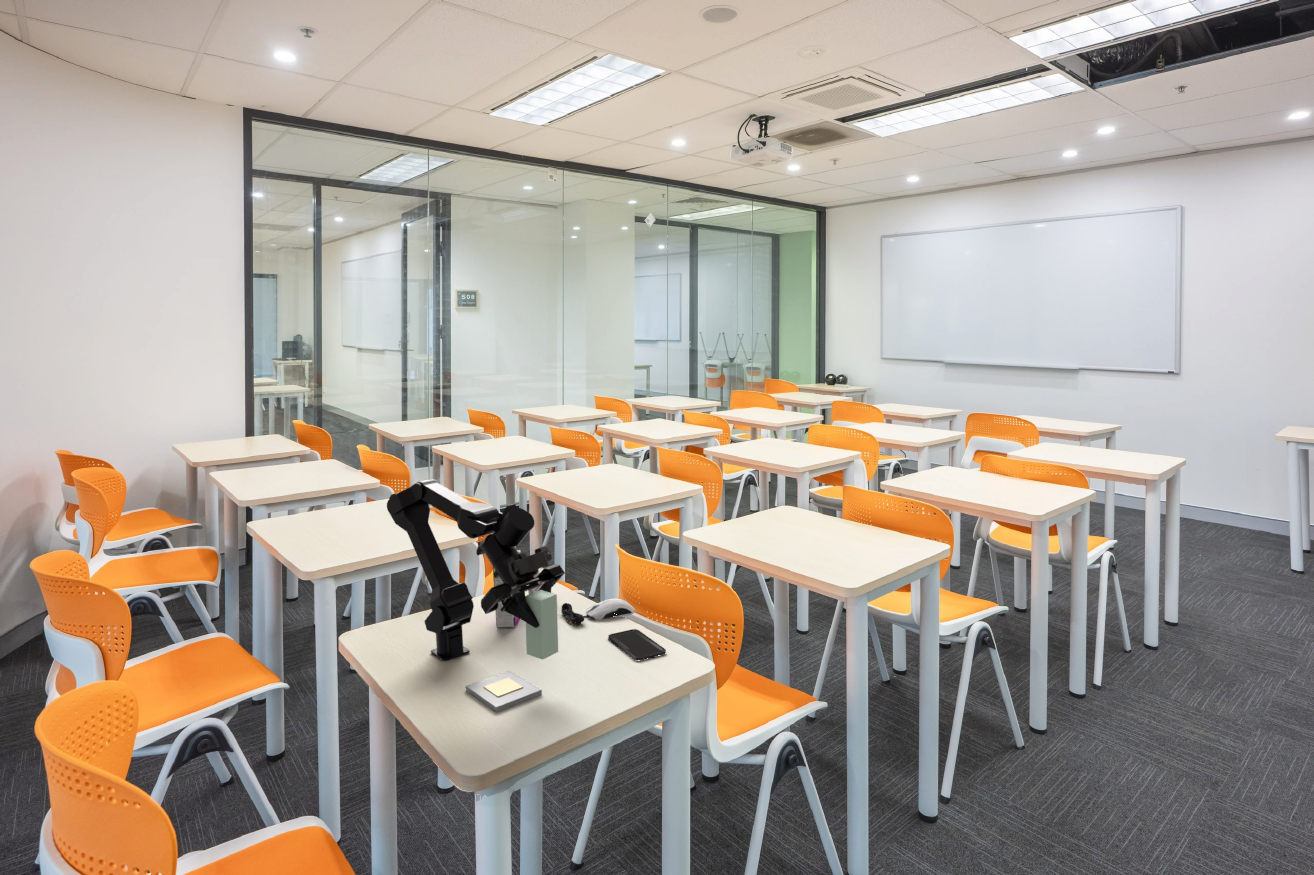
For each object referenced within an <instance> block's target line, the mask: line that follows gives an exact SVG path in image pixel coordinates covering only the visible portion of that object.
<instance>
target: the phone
mask: <svg viewBox="0 0 1314 875" xmlns="http://www.w3.org/2000/svg"><path fill="white" fill-rule="evenodd" d="M607 638H608V639H607V640H608V641H610V643H612V644H613V645H614V644H615V646H616V647H617V648H618V647H619V648H620V649H619V648H618V649H619V650H621V652H623V651H624V652H625V653H624V652H623V653H624V654H626V655H627V654H628V655H629V656H628V655H627V656H628V657H629V658H631V657H632V658H631V659H632V660H633V659H634V660H633V661H635V660H643V661H645V660H644V659H647V658H651V657H654V656H658V655H662V656H664V655H663V654H665V653H666V654H667V650H666V648H664V647H663V646H662V645H661V644H659V643H658V642H656V641H655V640H653V639H652V638H650V637H649V636H647V635H646V634H645V633H644V632H642V631H641V630H639V629H638V628H637V629H636V628H633V629H632V628H631V629H628V630H623V631H619V632H615V633H610V634H608V636H607ZM666 654H665V655H666ZM658 657H659V656H658ZM647 660H648V659H647Z"/></svg>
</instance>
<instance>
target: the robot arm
mask: <svg viewBox="0 0 1314 875" xmlns="http://www.w3.org/2000/svg"><path fill="white" fill-rule="evenodd" d="M430 506H431V507H434V508H435V509H436V510H438V511H440V512H441V513H444V515H446V516H448V517H450V518H451V519H452V520H454V521H455V522H456V523H457V528H458V530H460V531H461V532H462V533H463V534H465V535H466V537H468V538H469V539H476V538H480V537H484V536H486V537H485V538H484V539H483V540H480V541H478V542H477V547H476V553H475V554H476V555H477V556H480V555H485V556H486V558H487V559H488V561H489V563H490V564H491V565H492V568H493V567H494V569H495V572H494V573H493V572H492V575H494V577H495V578H497V577H500V578H501V580H502V582H503V584H500V585H497V586H495V587H494V586H492V587H491V588H489V590H488V591H487V592H486V594H485V595H484V596H483V597H482V598H481V599H480V607H481V609H482V610H483V612H484V614H485V615H487V614H488V615H489V614H490V613H492V612H494V611H495V612H496V610H497V609H498V602H500V601H501V602H502V605H503V607H502V608H501V609H500V610H501V612H503V611H505V612H507V613H510V614H512V615H514V616H516V617H518V618H519V620H521V621H522V622H524V623H525V624H526V623H528V624H529V625H531V626H533V627H534V628H537V627H538V626H539V623H538V620H537V618H536V617H535V615H534V613H533V612H532V610H531V608H530V607H529V605H528V603H527V602H526V598H525V596H526V592H528V590H531V589H532V591H533V593H534V592H537V591H539V590H543V591H547V592H550V593H552V588H553V587H554V586H555V585H556V584H557V583H558V581H559V580H560V579H561V578H562V577H563V576H564V575H565V571H564V569H563V568H562V566H561V565H560V564H553V565H552V564H551V565H550V564H549V562H550V561H552V559H553V557H552V553H551V551H550V550H549V548H548V547H547V546H546V545H543V546H541V547H540V546H539V547H538V548H536V549H534V553H533V554H530V555H527V554H526V553H525V552H521V553H520V554H519V553H518V551H517V550H518V549H516V547H517V546H519V545H520V544H521V543H522V542H523V540H524V539H525V538H526V537H527V535H528V534H529V533H530V532H531V531H532V529H533V528H534V527H535V519H534V516H533V515H532V514H531V513H529V512H528V511H526V510H525V509H523V508H522V507H521V508H520V507H518V506H517V505H516V504H515V503H512V504H508V505H506V506H505V508H504V509H503V511H502V512H501V511H499V510H498V509H497V508H496V507H495V506H494V505H490V504H487V503H483V502H475V501H474V502H473V501H471V500H467V499H466V498H465V497H463V496H461V495H459V493H458V494H457V493H456V492H454V491H453V490H451V489H449V488H447V487H446V486H444V485H442V484H440V482H439V481H438V480H437V479H433V478H430V479H426V480H420V481H417V482H416V483H414V484H413V485H411V486H409V487H408V488H405V489H403V490H402V491H399V492H395V493H392V494H391V495H390V496H389V498H388V501H387V503H386V508H387V511H388V514H389V515H390V517H391V518H392V520H393V523H395V525H396V526H398V527H399V528H401V529H402V530H403V531H404V532H406V533H407V535H408V537H409V540H410V543H411V545H412V547H413V549H414V552H415V554H416V556H417V558H418V561H419V562H420V565H421V567H422V570H423V571H424V575H425V577H426V579H427V582H428V583H429V586H430V588H431V595H430V601H429V604H430V605H429V606H430V609H431V612H430V613H429V615H428V616H427V617H426V619H425V620H424V624H425V628H426V631H429V632H431V633H434V634H435V642H436V648H433V649H431V650H430V653H431V654H432V653H433V655H434V656H435V657H437V658H438V659H440V660H441V661H448V660H451V659H453V658H457V657H460V656H463V655H466V654H469V653H470V649H469V648H467V647H466V646H464V640H463V635H464V634H463V625H466V624H469V623H471V621H472V616H473V611H474V602H473V596H472V594H471V592H470V591H469V588H468V586H467V584H466V583H465V582H461V583H459V582H458V581H456V580H454V578H453V575H452V573H451V571H450V568H449V567H448V564H447V562H446V560H445V557H444V555H443V553H442V551H441V549H440V547H439V544H438V542H437V540H436V537H435V535H434V532H433V531H432V528H431V526H430V524H429V518H430V512H431V508H430ZM539 568H544V569H543V570H542V571H541V572H540V574H539V575H538V576H537V577H535V578H534V575H536V574H537V573H538V572H539V570H538V569H539Z"/></svg>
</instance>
